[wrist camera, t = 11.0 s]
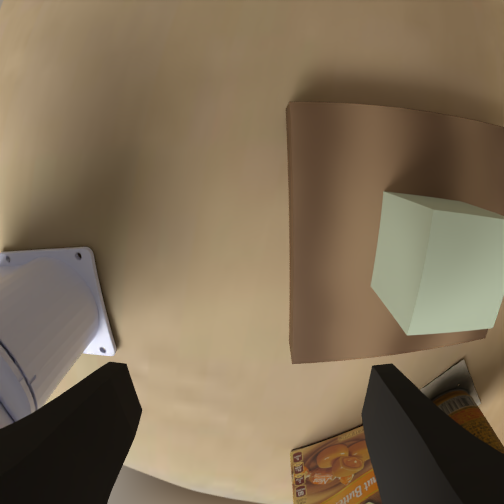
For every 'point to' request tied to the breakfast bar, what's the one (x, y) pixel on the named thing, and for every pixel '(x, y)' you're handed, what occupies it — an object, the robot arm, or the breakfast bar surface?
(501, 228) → the sage cube
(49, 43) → the breakfast bar surface
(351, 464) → the candy box
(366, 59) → the breakfast bar surface
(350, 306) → the walnut block
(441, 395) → the condiment
